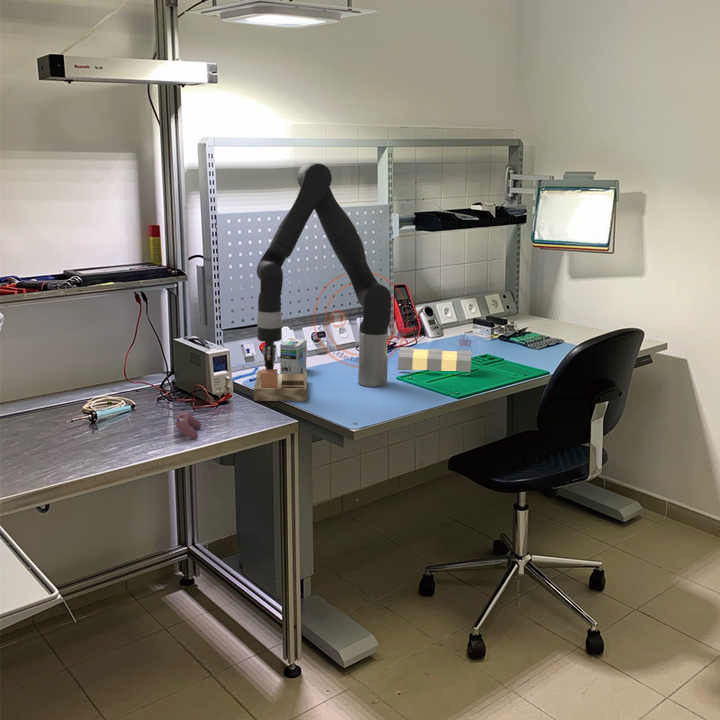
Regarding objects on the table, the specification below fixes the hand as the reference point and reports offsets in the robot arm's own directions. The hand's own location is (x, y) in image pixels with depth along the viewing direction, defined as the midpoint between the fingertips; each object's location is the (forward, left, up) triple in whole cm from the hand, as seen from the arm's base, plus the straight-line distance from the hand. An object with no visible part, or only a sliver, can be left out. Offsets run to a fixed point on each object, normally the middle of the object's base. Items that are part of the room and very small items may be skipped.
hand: (269, 378), depth 255 cm
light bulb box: (-7, -22, -4) cm, 24 cm away
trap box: (-4, +1, -4) cm, 5 cm away
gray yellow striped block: (-57, -24, -4) cm, 62 cm away
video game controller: (+20, +42, -4) cm, 46 cm away
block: (0, +5, -1) cm, 5 cm away
